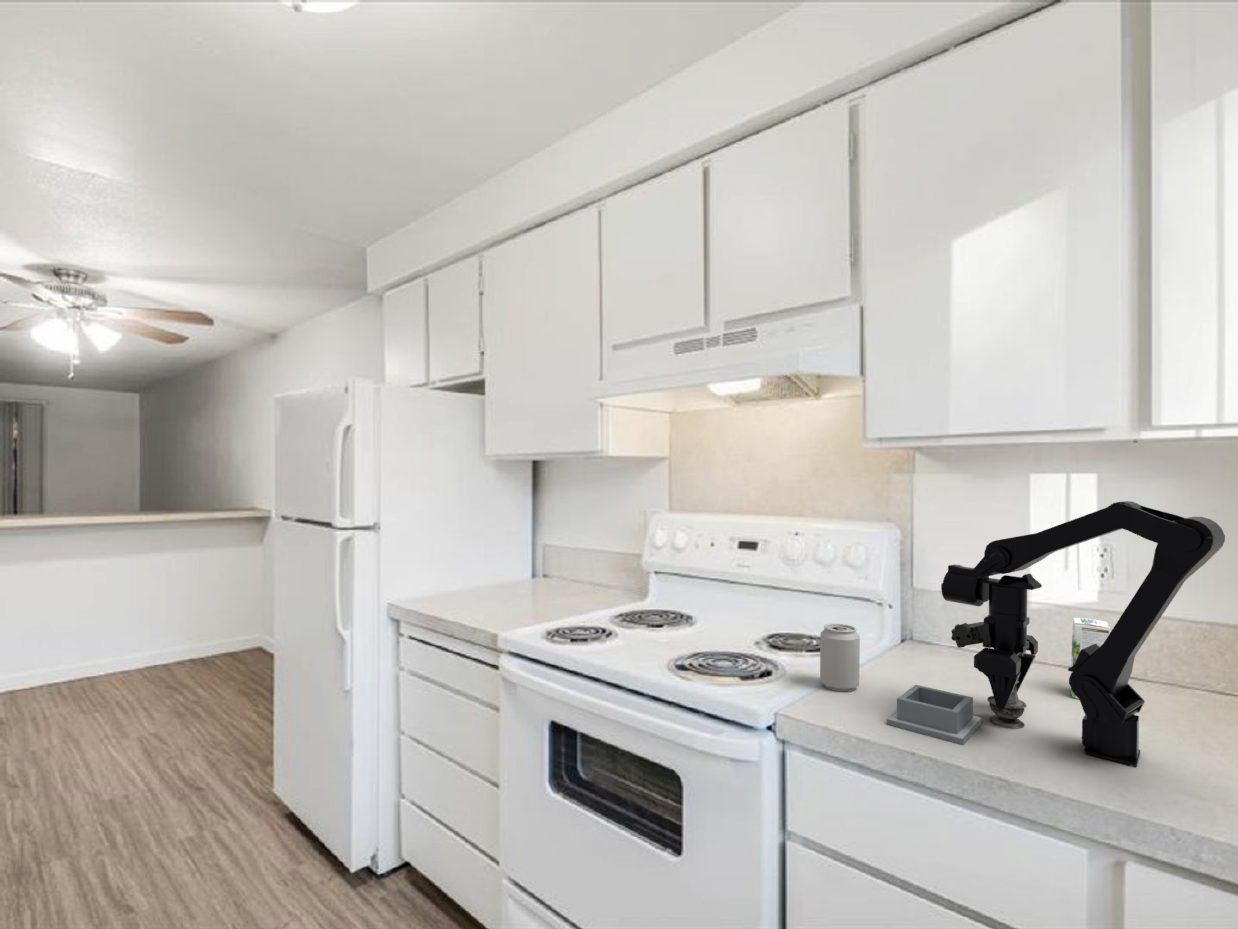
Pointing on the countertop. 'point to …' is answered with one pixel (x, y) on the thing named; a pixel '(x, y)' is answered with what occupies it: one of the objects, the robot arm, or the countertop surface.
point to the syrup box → (1087, 636)
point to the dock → (936, 714)
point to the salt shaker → (1008, 711)
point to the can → (839, 657)
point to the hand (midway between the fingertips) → (1006, 701)
